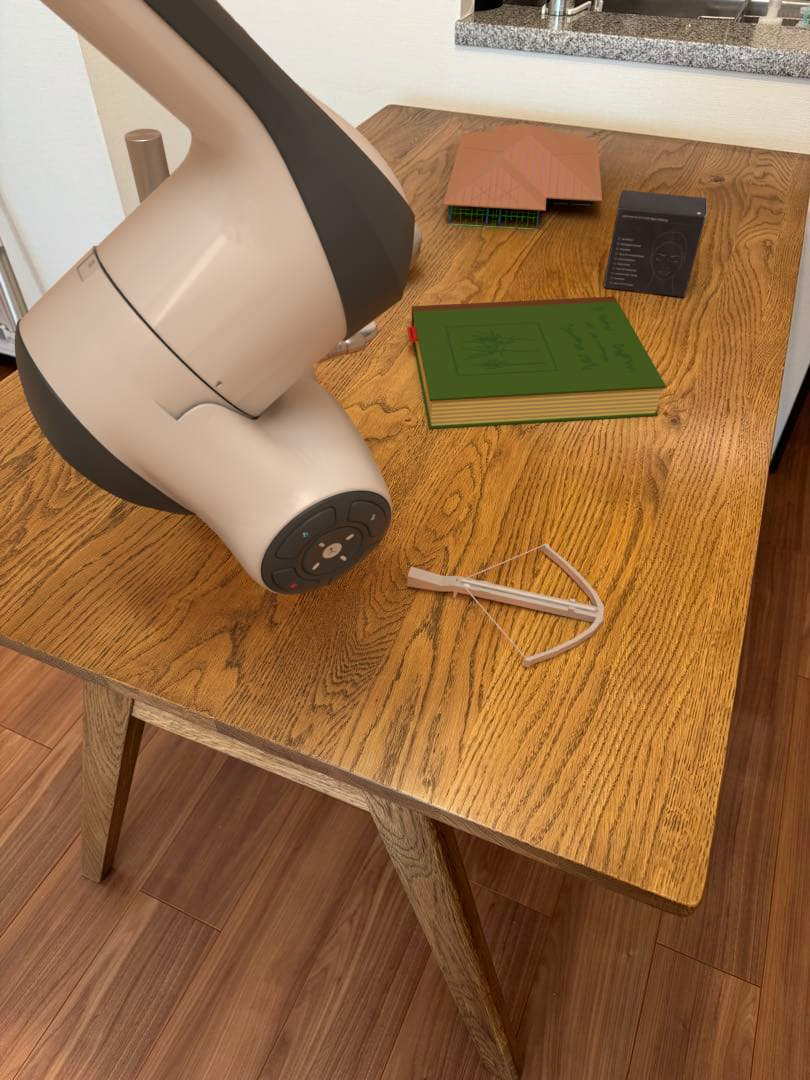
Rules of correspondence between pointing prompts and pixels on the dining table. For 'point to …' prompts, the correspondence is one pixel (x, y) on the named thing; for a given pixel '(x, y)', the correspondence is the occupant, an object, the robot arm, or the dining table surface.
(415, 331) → the hardcover book
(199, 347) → the robot arm
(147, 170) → the silver rod stand
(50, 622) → the dining table surface
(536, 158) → the house
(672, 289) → the box
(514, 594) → the crossbow
